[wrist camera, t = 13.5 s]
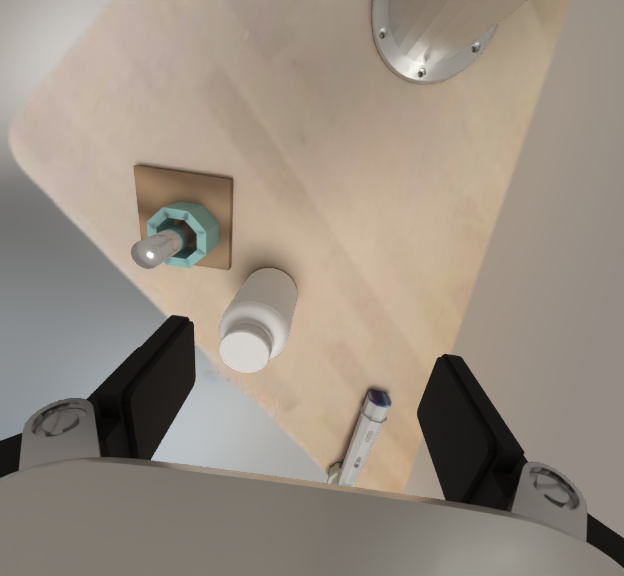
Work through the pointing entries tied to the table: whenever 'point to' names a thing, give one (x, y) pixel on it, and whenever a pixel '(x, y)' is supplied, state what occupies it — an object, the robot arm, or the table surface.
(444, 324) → the table surface
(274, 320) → the pill bottle
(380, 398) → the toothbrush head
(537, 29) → the table surface
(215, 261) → the board
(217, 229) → the ring
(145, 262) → the grey metal peg
